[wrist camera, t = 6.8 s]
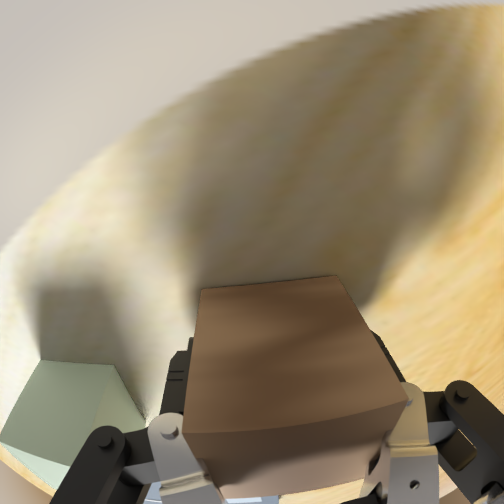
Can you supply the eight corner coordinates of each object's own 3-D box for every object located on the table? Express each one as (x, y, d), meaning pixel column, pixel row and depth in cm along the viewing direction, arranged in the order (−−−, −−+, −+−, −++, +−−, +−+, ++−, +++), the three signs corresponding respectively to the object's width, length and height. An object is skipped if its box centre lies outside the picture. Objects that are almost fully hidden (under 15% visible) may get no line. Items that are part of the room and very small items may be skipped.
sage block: (114, 364, 12) (78, 468, 7) (145, 421, 14) (130, 508, 9) (41, 359, 12) (-3, 440, 7) (78, 414, 14) (53, 488, 9)
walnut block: (336, 275, 11) (409, 398, 5) (327, 368, 13) (364, 477, 7) (201, 289, 11) (181, 432, 5) (220, 380, 13) (219, 498, 7)
